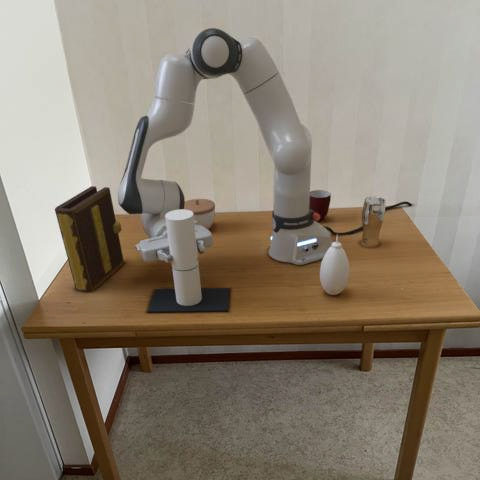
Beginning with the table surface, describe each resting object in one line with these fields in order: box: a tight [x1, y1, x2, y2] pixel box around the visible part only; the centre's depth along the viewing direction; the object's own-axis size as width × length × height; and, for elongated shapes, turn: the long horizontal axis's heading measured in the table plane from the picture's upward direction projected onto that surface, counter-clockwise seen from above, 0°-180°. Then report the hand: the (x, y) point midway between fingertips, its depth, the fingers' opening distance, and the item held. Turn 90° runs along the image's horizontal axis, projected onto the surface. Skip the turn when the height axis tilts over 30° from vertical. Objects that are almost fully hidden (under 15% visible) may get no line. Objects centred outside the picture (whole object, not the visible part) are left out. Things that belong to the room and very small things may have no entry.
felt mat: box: [146, 287, 231, 314], centre depth 138 cm, size 22×12×1 cm, turn 88°
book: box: [54, 185, 125, 293], centre depth 146 cm, size 22×8×25 cm, turn 162°
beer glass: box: [360, 196, 386, 248], centre depth 159 cm, size 7×7×15 cm
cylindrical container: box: [165, 209, 202, 306], centre depth 131 cm, size 7×7×25 cm
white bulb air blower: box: [319, 234, 350, 296], centre depth 133 cm, size 8×8×18 cm
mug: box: [309, 189, 332, 223], centre depth 178 cm, size 11×8×10 cm
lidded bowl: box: [184, 198, 216, 231], centre depth 176 cm, size 13×13×11 cm
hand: (186, 255), depth 129 cm, fingers open, 8 cm apart
